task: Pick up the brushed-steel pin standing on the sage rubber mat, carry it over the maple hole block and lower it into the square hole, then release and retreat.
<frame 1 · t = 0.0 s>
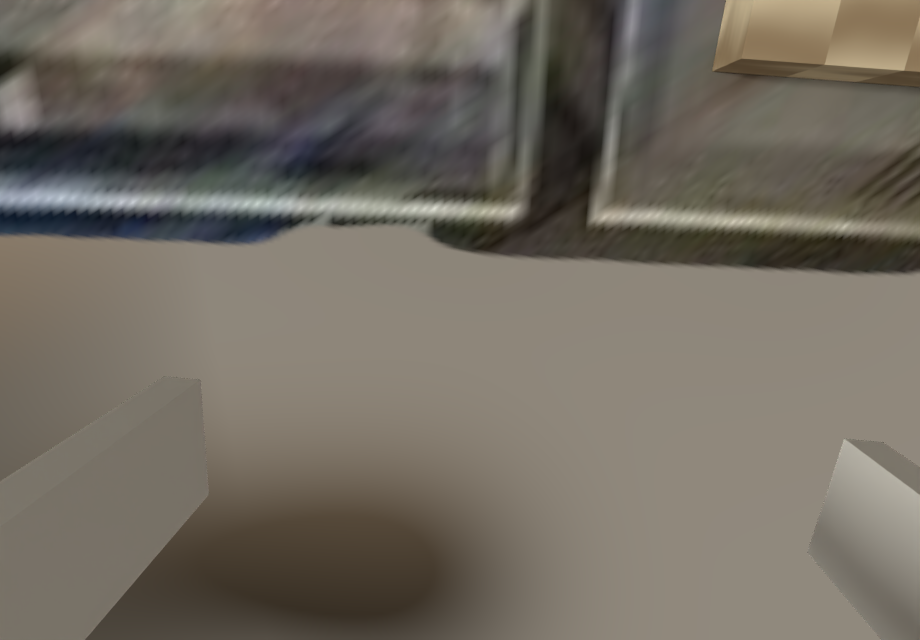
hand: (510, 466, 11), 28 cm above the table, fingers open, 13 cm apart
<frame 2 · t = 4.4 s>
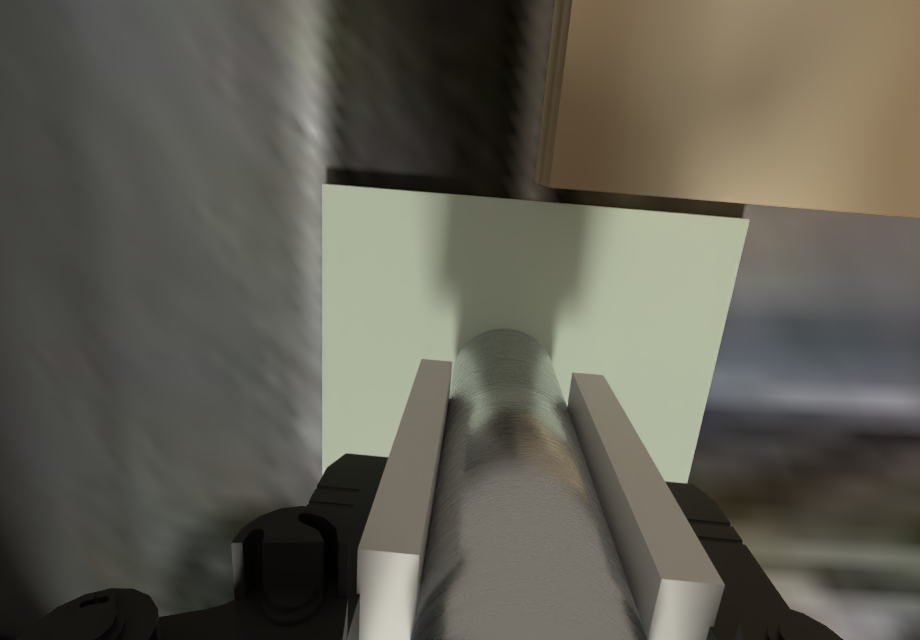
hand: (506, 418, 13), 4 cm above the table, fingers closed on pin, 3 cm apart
pin: (503, 376, 15), point 1 cm above the table, touching gripper
mat: (513, 362, 16), on the table
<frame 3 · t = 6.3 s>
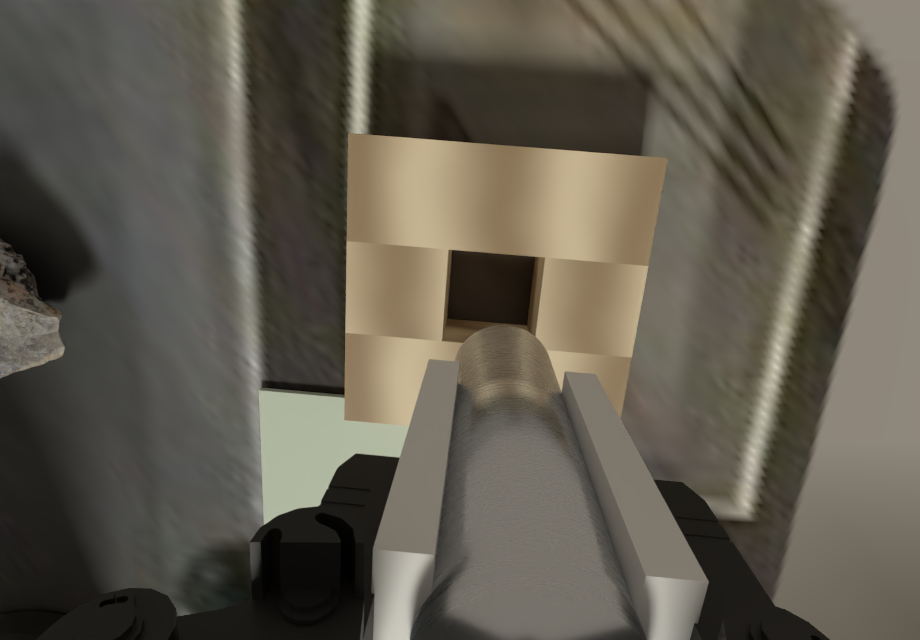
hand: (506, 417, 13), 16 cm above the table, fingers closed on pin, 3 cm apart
pin: (502, 371, 16), point 13 cm above the table, touching gripper
mat: (359, 469, 32), on the table
mineral specimen: (18, 299, 30), on the table
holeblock: (490, 282, 28), on the table
when the fingers open (5 cm above the table, at t = 8.8 s): pin drops 2 cm, resting in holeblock.
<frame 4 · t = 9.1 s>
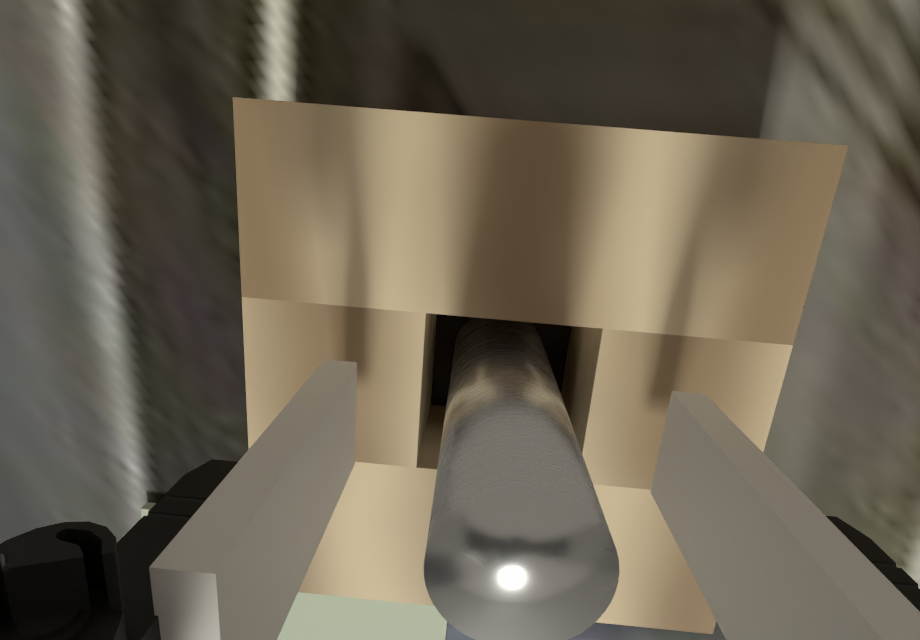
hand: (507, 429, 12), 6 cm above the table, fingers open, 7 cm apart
pin: (498, 351, 17), resting in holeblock
mat: (301, 619, 21), on the table
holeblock: (500, 350, 17), on the table
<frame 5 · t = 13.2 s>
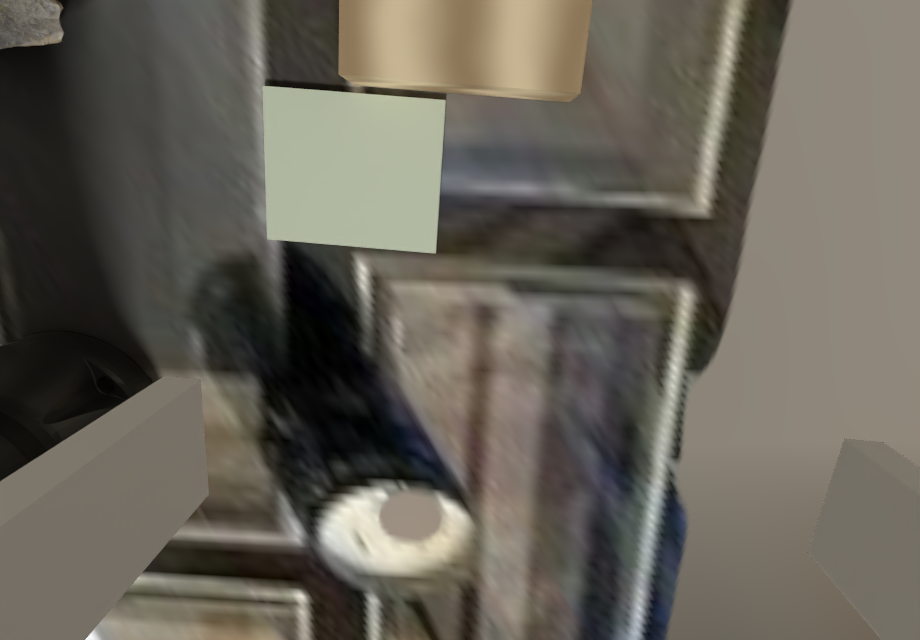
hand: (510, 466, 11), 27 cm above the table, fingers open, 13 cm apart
mat: (353, 172, 35), on the table
mineral specimen: (23, 14, 33), on the table
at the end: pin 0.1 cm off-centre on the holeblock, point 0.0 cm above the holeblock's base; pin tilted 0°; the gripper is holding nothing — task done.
